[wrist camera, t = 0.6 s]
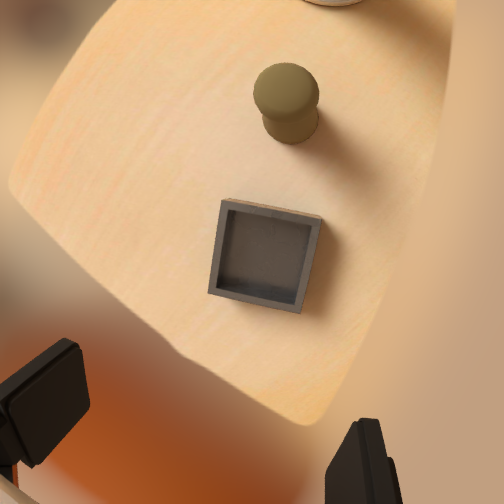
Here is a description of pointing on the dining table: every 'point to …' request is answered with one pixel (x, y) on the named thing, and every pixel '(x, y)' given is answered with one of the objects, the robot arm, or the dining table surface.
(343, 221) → the dining table surface
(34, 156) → the dining table surface
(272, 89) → the cork
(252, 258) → the socket
